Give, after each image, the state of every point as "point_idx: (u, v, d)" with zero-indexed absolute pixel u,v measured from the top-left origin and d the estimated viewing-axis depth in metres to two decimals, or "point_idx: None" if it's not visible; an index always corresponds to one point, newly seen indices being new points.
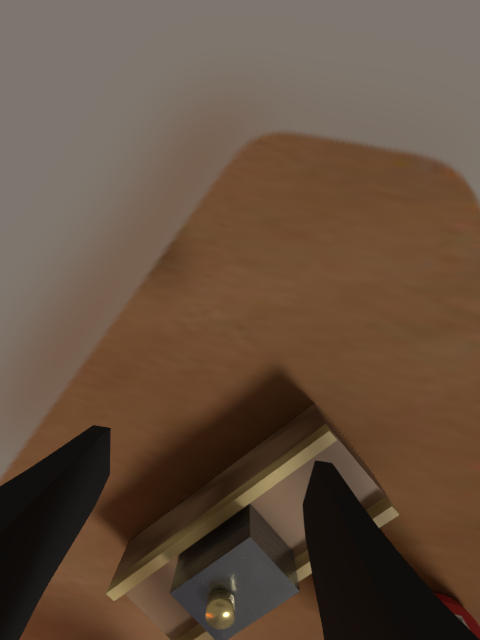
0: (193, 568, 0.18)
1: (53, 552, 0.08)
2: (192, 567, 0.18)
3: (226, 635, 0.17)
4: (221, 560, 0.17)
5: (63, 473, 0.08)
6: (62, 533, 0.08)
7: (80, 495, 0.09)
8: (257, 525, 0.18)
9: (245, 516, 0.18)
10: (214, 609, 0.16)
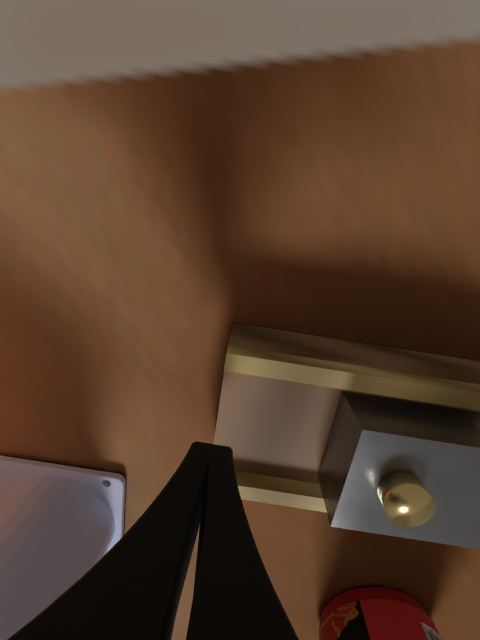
0: (404, 426, 0.11)
1: (184, 573, 0.08)
2: (399, 424, 0.11)
3: (351, 524, 0.11)
4: (470, 451, 0.10)
5: (197, 494, 0.08)
6: (188, 553, 0.08)
7: (198, 514, 0.09)
8: None
9: None
10: (419, 497, 0.10)
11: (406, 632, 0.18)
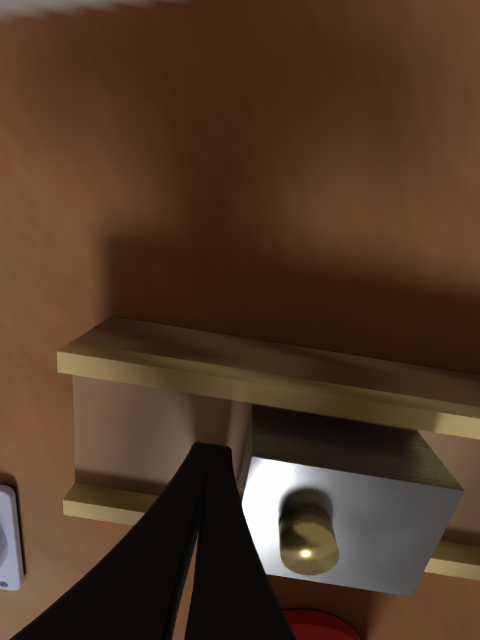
0: (309, 451, 0.09)
1: (185, 573, 0.08)
2: (304, 448, 0.09)
3: None
4: (384, 483, 0.08)
5: (198, 494, 0.08)
6: (189, 553, 0.08)
7: (199, 514, 0.09)
8: None
9: (421, 447, 0.10)
10: (317, 542, 0.08)
11: None
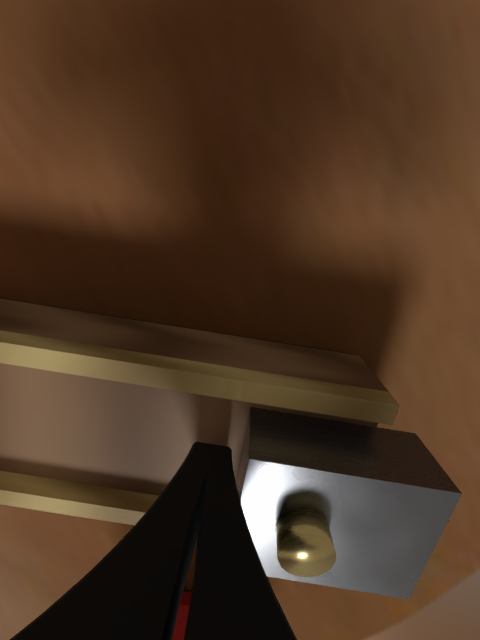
0: (306, 453, 0.09)
1: (185, 573, 0.08)
2: (301, 450, 0.09)
3: None
4: (381, 485, 0.08)
5: (199, 494, 0.08)
6: (190, 553, 0.08)
7: (199, 514, 0.09)
8: None
9: (418, 449, 0.10)
10: (314, 543, 0.08)
11: None
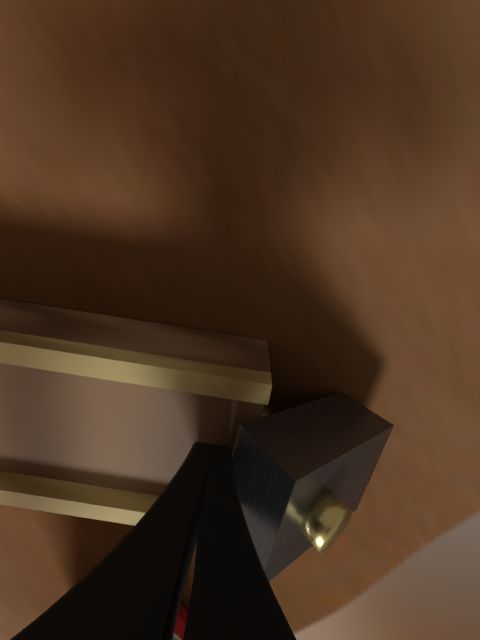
0: (317, 447, 0.10)
1: (185, 573, 0.08)
2: (312, 446, 0.10)
3: (276, 572, 0.10)
4: (364, 445, 0.10)
5: (199, 494, 0.08)
6: (190, 553, 0.08)
7: (199, 514, 0.09)
8: None
9: (353, 403, 0.13)
10: (343, 517, 0.09)
11: None
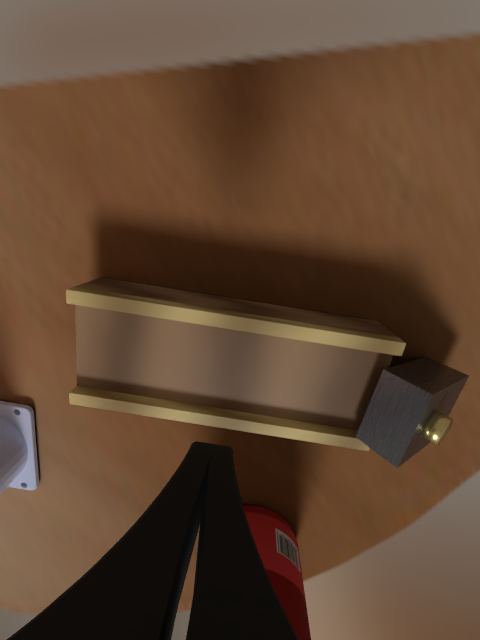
0: (432, 382, 0.16)
1: (184, 573, 0.08)
2: (430, 381, 0.16)
3: (405, 459, 0.16)
4: (455, 384, 0.17)
5: (197, 494, 0.08)
6: (188, 553, 0.08)
7: (198, 514, 0.09)
8: None
9: (437, 363, 0.19)
10: (450, 423, 0.15)
11: (258, 532, 0.22)
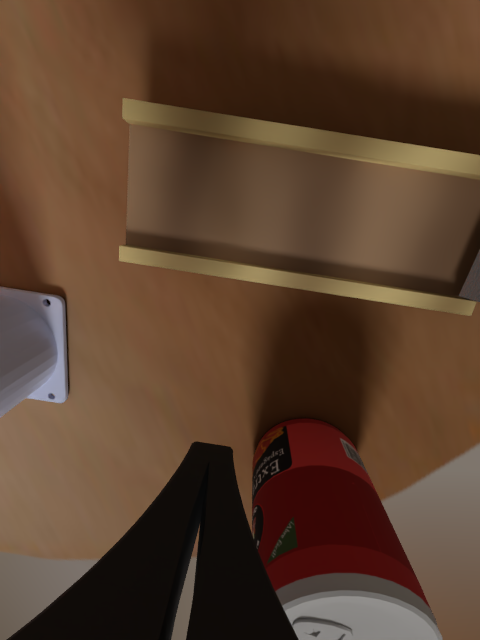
0: None
1: (184, 573, 0.08)
2: None
3: None
4: None
5: (197, 494, 0.08)
6: (188, 553, 0.08)
7: (198, 514, 0.09)
8: None
9: None
10: None
11: (323, 439, 0.19)
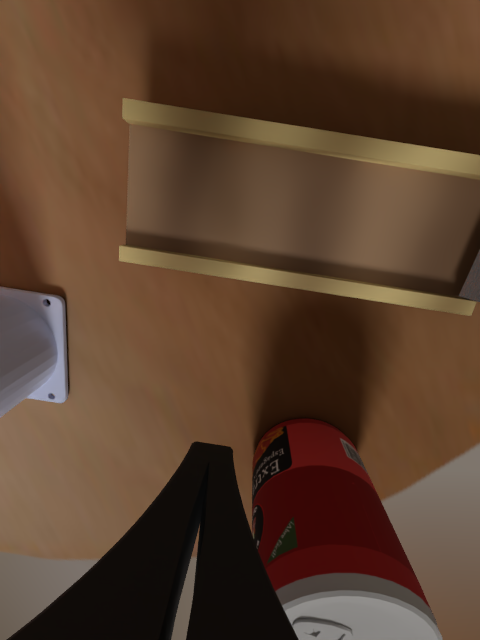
0: None
1: (184, 573, 0.08)
2: None
3: None
4: None
5: (197, 494, 0.08)
6: (188, 553, 0.08)
7: (198, 514, 0.09)
8: None
9: None
10: None
11: (323, 439, 0.19)
